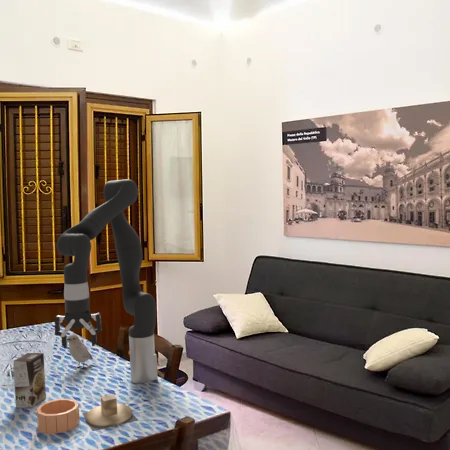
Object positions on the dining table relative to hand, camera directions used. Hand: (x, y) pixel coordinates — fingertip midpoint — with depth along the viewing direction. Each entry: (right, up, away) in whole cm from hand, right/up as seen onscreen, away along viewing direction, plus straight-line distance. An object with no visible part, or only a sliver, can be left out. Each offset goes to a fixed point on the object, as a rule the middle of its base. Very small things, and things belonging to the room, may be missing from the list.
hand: (79, 346), depth 170 cm
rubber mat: (+10, -22, -1) cm, 24 cm away
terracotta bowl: (-5, -23, -5) cm, 24 cm away
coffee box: (-20, -22, +13) cm, 32 cm away
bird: (-12, -19, +45) cm, 50 cm away
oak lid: (+10, -22, -1) cm, 24 cm away
